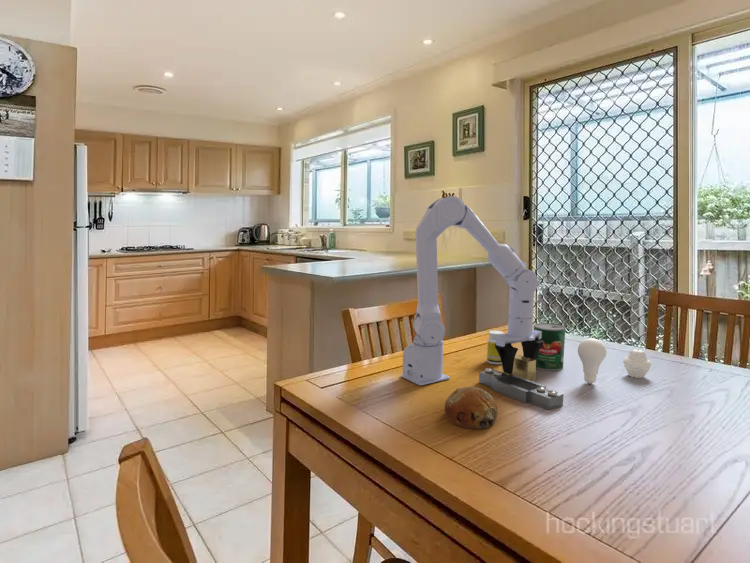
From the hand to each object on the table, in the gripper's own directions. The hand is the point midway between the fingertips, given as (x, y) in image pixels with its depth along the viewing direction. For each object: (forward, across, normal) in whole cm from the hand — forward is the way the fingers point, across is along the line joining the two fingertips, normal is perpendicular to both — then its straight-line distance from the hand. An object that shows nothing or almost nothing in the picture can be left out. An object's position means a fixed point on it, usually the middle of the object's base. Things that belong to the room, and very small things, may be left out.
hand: (518, 370), depth 114 cm
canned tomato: (+2, +13, +1) cm, 13 cm away
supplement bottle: (+2, +4, +11) cm, 12 cm away
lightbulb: (+2, +10, -13) cm, 16 cm away
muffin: (+2, +25, -16) cm, 30 cm away
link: (+2, 0, 0) cm, 2 cm away
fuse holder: (+1, -10, -8) cm, 12 cm away
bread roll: (+2, -28, -12) cm, 31 cm away
